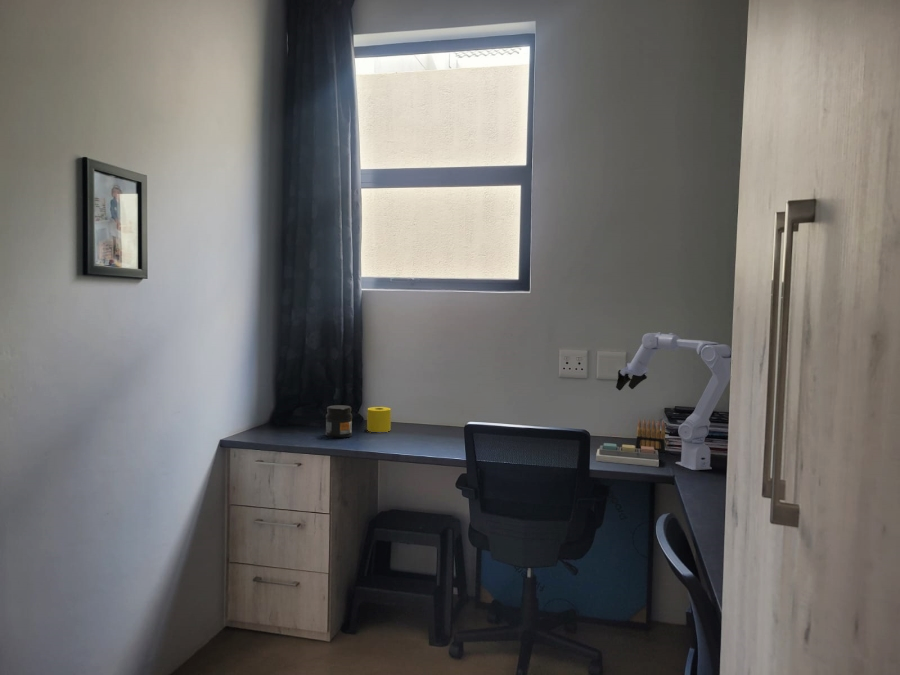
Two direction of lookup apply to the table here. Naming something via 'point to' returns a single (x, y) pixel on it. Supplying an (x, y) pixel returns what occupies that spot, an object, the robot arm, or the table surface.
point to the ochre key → (628, 448)
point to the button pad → (627, 457)
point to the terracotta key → (647, 449)
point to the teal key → (609, 446)
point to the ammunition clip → (651, 436)
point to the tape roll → (379, 419)
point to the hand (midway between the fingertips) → (624, 388)
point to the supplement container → (338, 421)
